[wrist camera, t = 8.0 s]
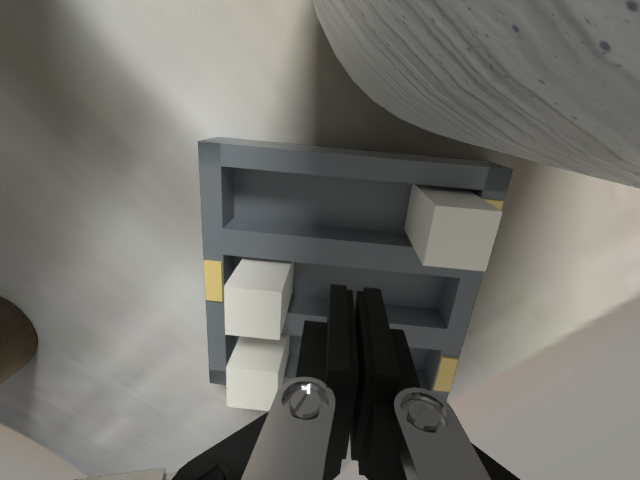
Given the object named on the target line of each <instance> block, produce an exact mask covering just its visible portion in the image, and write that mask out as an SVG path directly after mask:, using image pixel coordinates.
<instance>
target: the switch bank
mask: <svg viewBox="0 0 640 480" xmlns="http://www.w3.org/2000/svg"><path fill="white" fill-rule="evenodd" d="M198 153H199V174H200V194H201V214H202V234H203V255H204V275H205V295H206V315H207V336H208V356H209V376H210V383H215V384H224V385H226V366H227V364H228V362H229V359H230V357H231V355H232V353H233V350H234V348H235V346H236V344H237V341H238V339H239V337H240V336H233V335H225V311H224V285H225V284H226V282H227V281H228V279H229V278H230V276H231V275H232V273H233V272H234V270H235V269H236V267H237V266H238V264H239V263H240V261H241V260H242V258H243V257H250V258H260V259H271V260H281V261H291V262H294V275H293V292H292V296H291V299H290V303H289V307H288V311H287V314H286V318H285V322H284V326H283V329H282V333H281V334H287V335H290V344H289V355H288V360H287V365H286V369H285V374H284V379H283V383H282V385H283V384H284V383H285V382H287V381H289V380H291V379H293V378H296V372H297V365H298V359H299V352H300V346H301V339H302V333H303V327H304V321H305V320H307V321H317V322H327V314H328V304H329V294H330V285H331V284H335V285H346V286H347V290H353V301H354V309H355V302H356V295H357V291H363V288H364V287H367V288H378V289H381V293H382V297H383V301H384V306H385V310H386V314H387V318H388V323H389V327H390V329H401V330H403V331H404V333H405V336H406V339H407V342H408V346H409V349H410V353H411V356H412V359H413V363H414V366H415V370H416V373H417V376H418V380H419V383H420V387H421V388H423V389H426V390H429V391H432V392H434V393H435V394H437V395H439V396H440V397H442V398H443V399H444V400H445V401H447V397H448V394H449V391H450V388H451V384H452V381H453V377H454V374H455V370H456V367H457V363H458V359H459V355H460V352H461V348H462V345H463V341H464V338H465V335H466V331H467V328H468V324H469V321H470V317H471V314H472V310H473V307H474V303H475V300H476V296H477V293H478V289H479V286H480V282H481V279H482V275H483V272H484V271H474V270H464V269H453V268H443V267H433V266H423V265H422V263H421V261H420V259H419V257H418V255H417V253H416V251H415V249H414V247H413V246H412V244H411V242H410V240H409V238H408V236H407V234H406V232H405V230H404V227H405V222H406V216H407V211H408V205H409V200H410V194H411V189H412V184H420V185H431V186H442V187H453V188H464V189H468V190H469V191H471V192H472V193H474V194H475V195H477V196H479V197H480V198H482V199H483V200H485V201H487V202H488V203H490V204H491V205H493V206H495V207H496V208H498V209H499V210H502V206H503V203H504V198H505V195H506V191H507V188H508V184H509V181H510V177H511V174H512V169H509V168H507V167H504V166H501V165H498V164H495V163H492V162H489V161H479V160H468V159H456V158H445V157H434V156H423V155H412V154H400V153H389V152H378V151H367V150H356V149H344V148H333V147H322V146H311V145H300V144H288V143H277V142H266V141H255V140H244V139H232V138H221V137H216V138H211V139H207V140H202V141H198Z"/></svg>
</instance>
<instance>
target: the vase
mask: <svg viewBox="0 0 640 480" xmlns="http://www.w3.org/2000/svg"><path fill="white" fill-rule="evenodd" d="M312 2H313V5H314V8H315V11H316V15H317V17H318V20H319V22H320V24H321V26H322V28H323V30H324V32H325V35H326V37H327V39H328V41H329V43H330V45H331V47H332V50H333V52H334V54H335V56H336V57H337V59H338V60H339V61H340V63H341V64H342V66H343V67H344V69H345V70H346V72H347V73H348V74H349V76H350V77H351V79H352V80H353V81H354V82H355V83H356V84H357V85H358V86H359V87H360V88H361V89H362V90H363V91H364V92H365V93H366V94H367V95H368V96H369V97H370V98H371V99H372V100H373V101H374V102H376V103H377V104H378V105H380V106H381V107H383V108H384V109H386V110H387V111H389V112H390V113H392V114H393V115H395V116H396V117H398V118H400V119H402V120H404V121H406V122H409V123H411V124H413V125H415V126H418V127H420V128H422V129H425V130H427V131H429V132H433V133H436V134H439V135H442V136H445V137H448V138H452V139H455V140H458V141H461V142H465V143H469V144H472V145H476V146H479V147H483V148H487V149H490V150H494V151H498V152H501V153H505V154H509V155H512V156H516V157H519V158H523V159H527V160H530V161H534V162H538V163H541V164H545V165H549V166H553V167H557V168H561V169H565V170H569V171H573V172H577V173H581V174H585V175H588V176H592V177H596V178H600V179H604V180H608V181H612V182H616V183H620V184H624V185H628V186H632V187H636V188H640V0H312Z"/></svg>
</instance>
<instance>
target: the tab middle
mask: <svg viewBox="0 0 640 480" xmlns="http://www.w3.org/2000/svg"><path fill="white" fill-rule="evenodd" d="M293 275H294V262H291V261H281V260H271V259H260V258H250V257H243V258H242V260H241V261H240V263H239V264H238V266H237V267H236V269H235V270H234V272H233V273H232V275H231V276H230V278H229V279H228V281H227V282H226V284H225V285H224V311H225V335H233V336H243V337H253V338H262V339H272V340H280V337H281V333H282V329H283V326H284V322H285V318H286V314H287V311H288V307H289V303H290V299H291V296H292V292H293Z"/></svg>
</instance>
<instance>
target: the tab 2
mask: <svg viewBox="0 0 640 480" xmlns="http://www.w3.org/2000/svg"><path fill="white" fill-rule="evenodd" d="M502 213H503V211H501V210H499V209H498V208H496V207H495V206H493V205H491V204H490V203H488V202H487V201H485V200H483V199H482V198H480V197H479V196H477V195H475V194H474V193H472V192H471V191H469V190H468V189H464V188H453V187H442V186H431V185H420V184H412V189H411V194H410V200H409V205H408V211H407V216H406V222H405V227H404V230H405V232H406V234H407V236H408V238H409V240H410V242H411V244H412V246H413V247H414V249H415V251H416V253H417V255H418V257H419V259H420V261H421V263H422V265H423V266H433V267H443V268H453V269H464V270H474V271H484V272H486V269H487V265H488V262H489V258H490V255H491V251H492V248H493V244H494V241H495V238H496V234H497V231H498V227H499V224H500V220H501V217H502Z"/></svg>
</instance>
